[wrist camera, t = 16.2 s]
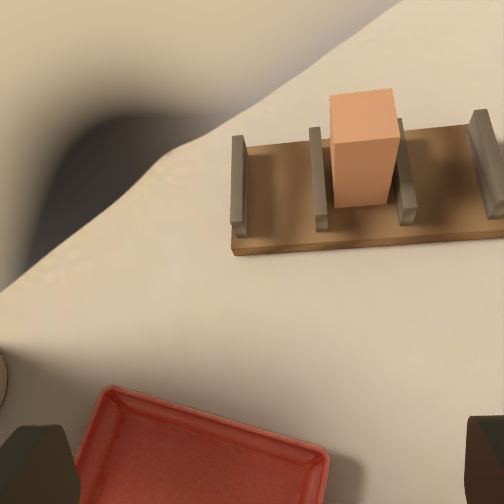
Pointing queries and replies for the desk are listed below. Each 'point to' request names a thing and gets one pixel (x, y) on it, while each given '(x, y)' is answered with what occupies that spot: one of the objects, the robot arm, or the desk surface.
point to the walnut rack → (375, 216)
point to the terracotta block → (362, 147)
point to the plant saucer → (190, 457)
